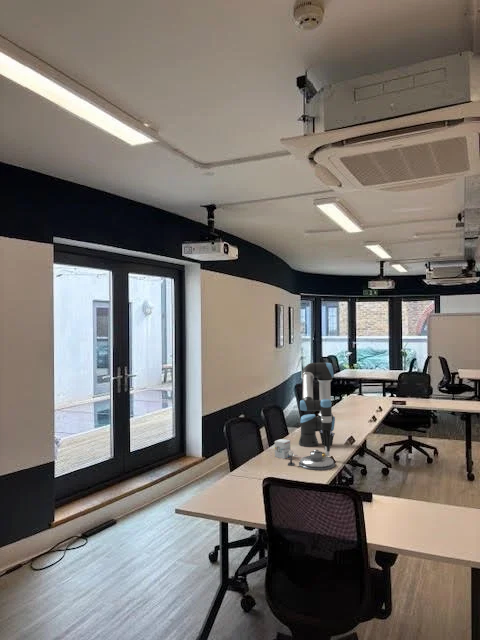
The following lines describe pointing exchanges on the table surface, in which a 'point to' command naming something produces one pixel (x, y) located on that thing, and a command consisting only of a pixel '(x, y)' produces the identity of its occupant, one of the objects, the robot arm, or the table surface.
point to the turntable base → (317, 468)
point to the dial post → (291, 458)
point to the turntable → (320, 464)
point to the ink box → (282, 448)
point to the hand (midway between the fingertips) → (327, 455)
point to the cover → (316, 455)
